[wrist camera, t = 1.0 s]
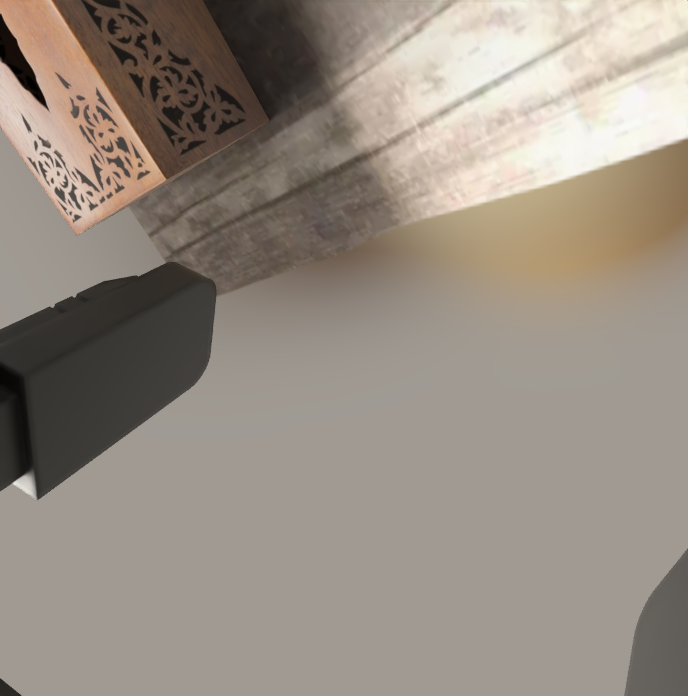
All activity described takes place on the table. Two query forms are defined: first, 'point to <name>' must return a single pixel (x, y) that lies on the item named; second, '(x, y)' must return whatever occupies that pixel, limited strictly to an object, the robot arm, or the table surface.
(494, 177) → the table surface
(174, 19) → the tissue box cover
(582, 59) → the table surface
